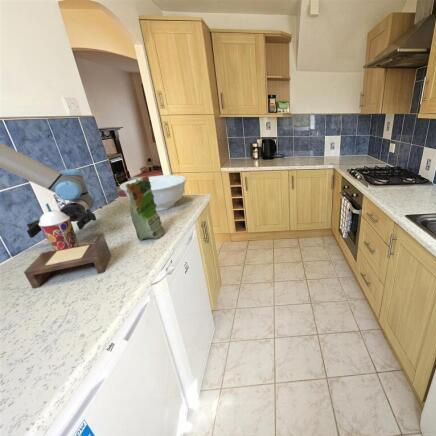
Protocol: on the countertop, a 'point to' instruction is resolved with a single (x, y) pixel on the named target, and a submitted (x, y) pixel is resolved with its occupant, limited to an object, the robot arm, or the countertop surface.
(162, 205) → the bowl
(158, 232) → the pouch
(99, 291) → the countertop surface
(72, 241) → the smoothie
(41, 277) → the shelf
